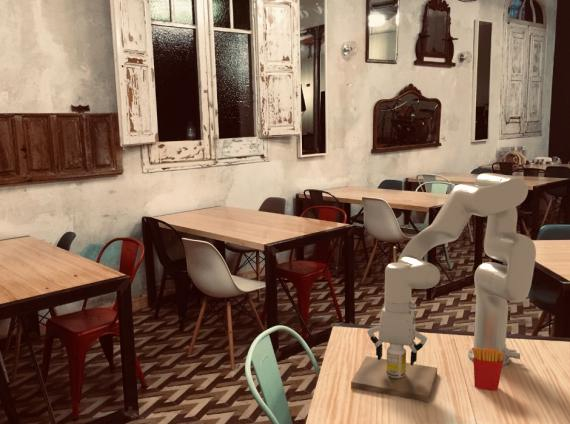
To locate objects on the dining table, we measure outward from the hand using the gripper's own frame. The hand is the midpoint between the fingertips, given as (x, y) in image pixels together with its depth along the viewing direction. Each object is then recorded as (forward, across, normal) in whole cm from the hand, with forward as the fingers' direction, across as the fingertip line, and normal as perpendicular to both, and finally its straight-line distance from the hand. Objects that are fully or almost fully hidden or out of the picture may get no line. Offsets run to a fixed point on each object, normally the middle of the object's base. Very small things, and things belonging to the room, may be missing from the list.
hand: (396, 360), depth 164 cm
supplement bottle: (+5, 0, 0) cm, 5 cm away
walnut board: (+6, 0, 0) cm, 6 cm away
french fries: (+7, -25, -6) cm, 26 cm away
